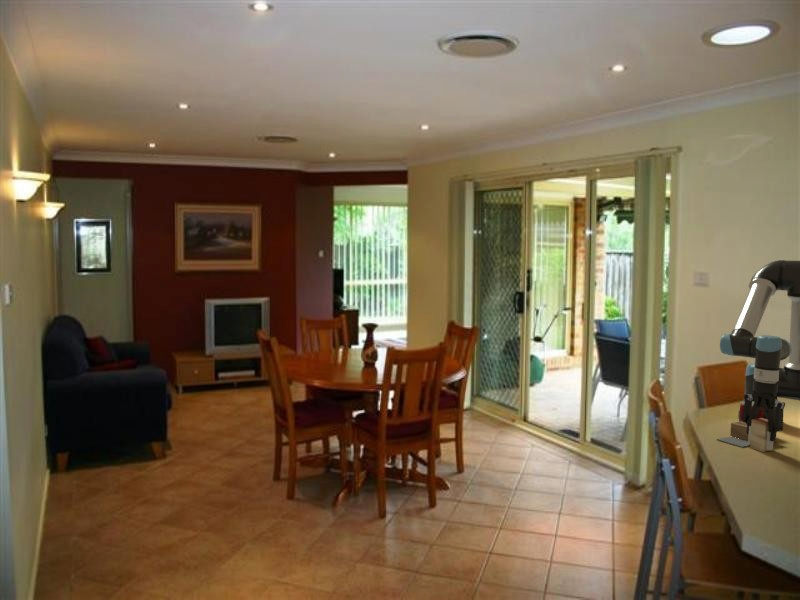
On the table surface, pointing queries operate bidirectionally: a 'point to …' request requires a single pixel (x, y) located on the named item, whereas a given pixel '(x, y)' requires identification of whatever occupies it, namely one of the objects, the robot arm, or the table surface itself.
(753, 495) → the table surface
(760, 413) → the canned food
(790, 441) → the table surface
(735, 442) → the mat
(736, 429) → the step
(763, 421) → the block
